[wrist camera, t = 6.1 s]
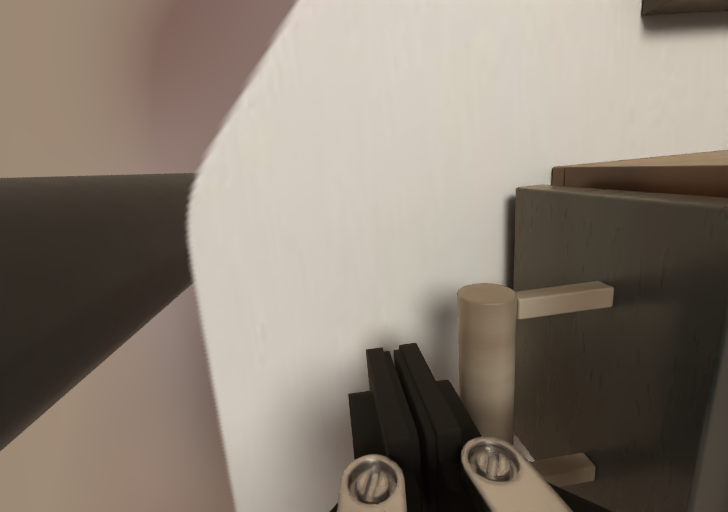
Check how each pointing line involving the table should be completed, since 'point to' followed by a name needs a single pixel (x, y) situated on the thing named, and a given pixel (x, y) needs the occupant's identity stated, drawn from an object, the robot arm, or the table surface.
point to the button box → (682, 6)
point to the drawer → (608, 346)
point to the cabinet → (653, 174)
